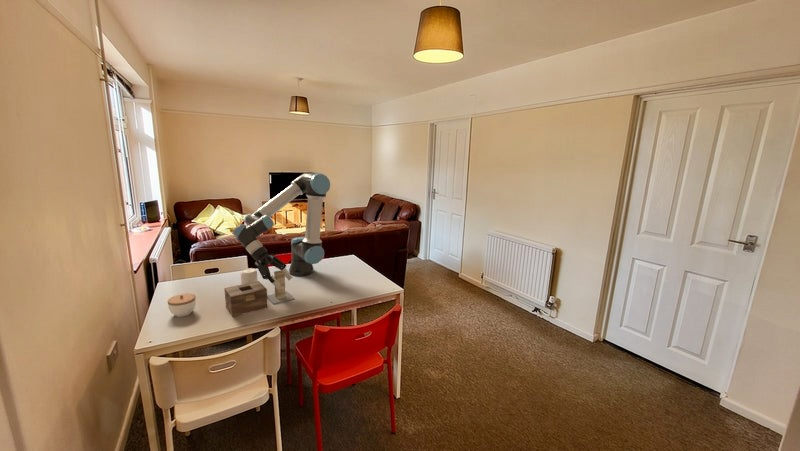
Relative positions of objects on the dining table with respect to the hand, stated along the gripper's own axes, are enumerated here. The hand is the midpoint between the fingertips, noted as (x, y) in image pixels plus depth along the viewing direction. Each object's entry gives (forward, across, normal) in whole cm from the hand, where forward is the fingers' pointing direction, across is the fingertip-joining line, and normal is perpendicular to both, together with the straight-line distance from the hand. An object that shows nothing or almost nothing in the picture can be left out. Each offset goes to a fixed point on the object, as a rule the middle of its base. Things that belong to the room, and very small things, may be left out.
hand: (284, 282), depth 168 cm
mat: (+4, 0, -9) cm, 10 cm away
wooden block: (+4, 0, -8) cm, 9 cm away
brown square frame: (-2, +14, -15) cm, 21 cm away
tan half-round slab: (-10, -2, -23) cm, 25 cm away
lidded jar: (-18, +29, -31) cm, 46 cm away
